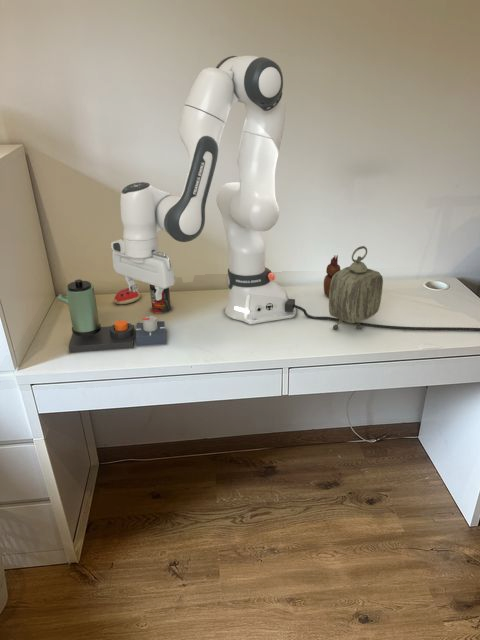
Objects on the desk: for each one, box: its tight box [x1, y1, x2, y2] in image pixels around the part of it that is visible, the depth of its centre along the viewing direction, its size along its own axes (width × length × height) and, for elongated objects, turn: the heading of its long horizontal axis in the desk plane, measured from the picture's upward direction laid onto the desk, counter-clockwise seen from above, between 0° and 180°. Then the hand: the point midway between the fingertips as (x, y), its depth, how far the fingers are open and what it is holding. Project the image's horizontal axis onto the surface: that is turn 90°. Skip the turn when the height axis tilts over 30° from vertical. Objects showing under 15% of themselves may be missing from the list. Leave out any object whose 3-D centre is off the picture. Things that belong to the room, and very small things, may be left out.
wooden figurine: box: [323, 254, 341, 298], centre depth 181 cm, size 7×6×15 cm
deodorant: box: [149, 284, 172, 314], centre depth 171 cm, size 6×6×15 cm
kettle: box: [56, 279, 102, 336], centre depth 150 cm, size 10×10×15 cm
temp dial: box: [141, 315, 158, 332], centre depth 155 cm, size 4×4×3 cm
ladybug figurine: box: [113, 287, 141, 305], centre depth 180 cm, size 7×10×4 cm
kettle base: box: [68, 322, 135, 354], centre depth 154 cm, size 17×11×4 cm, turn 100°
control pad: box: [135, 320, 167, 347], centre depth 156 cm, size 8×9×3 cm
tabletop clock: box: [328, 245, 384, 331], centre depth 158 cm, size 14×9×25 cm, turn 134°
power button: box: [113, 319, 129, 331], centre depth 154 cm, size 4×4×2 cm
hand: (145, 295), depth 150 cm, fingers open, 8 cm apart
